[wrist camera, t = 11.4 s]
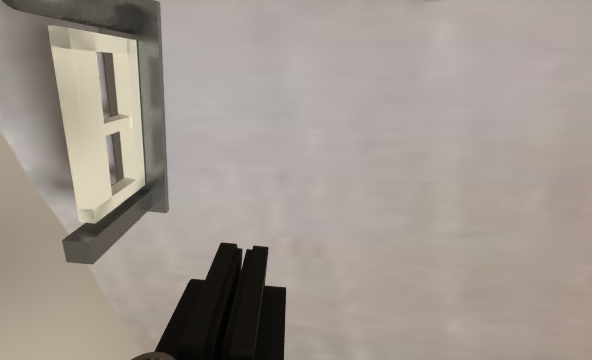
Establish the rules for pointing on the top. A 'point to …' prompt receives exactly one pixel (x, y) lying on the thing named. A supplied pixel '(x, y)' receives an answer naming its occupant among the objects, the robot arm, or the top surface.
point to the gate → (98, 117)
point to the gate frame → (147, 32)
